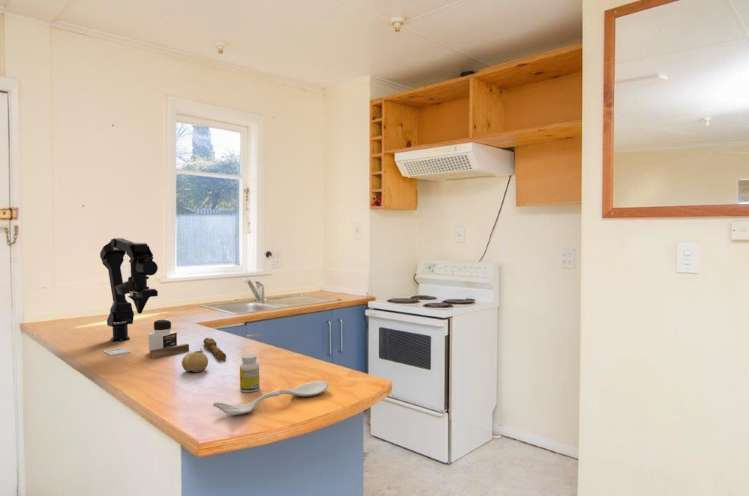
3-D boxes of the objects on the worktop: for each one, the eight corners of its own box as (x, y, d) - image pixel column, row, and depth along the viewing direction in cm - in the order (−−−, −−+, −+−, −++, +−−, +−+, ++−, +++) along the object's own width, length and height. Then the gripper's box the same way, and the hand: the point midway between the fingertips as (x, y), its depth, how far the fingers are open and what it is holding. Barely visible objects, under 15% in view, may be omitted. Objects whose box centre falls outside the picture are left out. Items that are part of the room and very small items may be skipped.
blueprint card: (102, 350, 190) (102, 350, 190) (122, 347, 194) (122, 347, 194) (110, 355, 182) (110, 354, 182) (130, 352, 187) (130, 351, 187)
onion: (192, 376, 156) (192, 353, 156) (176, 372, 161) (176, 350, 160) (213, 369, 163) (212, 348, 163) (197, 366, 167) (196, 345, 167)
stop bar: (150, 357, 180) (150, 350, 179) (186, 349, 190) (185, 343, 190) (153, 358, 178) (152, 351, 178) (189, 350, 189) (188, 344, 189)
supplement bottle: (242, 387, 145) (241, 353, 144) (260, 386, 145) (260, 353, 145) (238, 393, 139) (238, 358, 139) (258, 392, 140) (257, 358, 139)
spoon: (212, 415, 124) (212, 401, 124) (315, 386, 146) (315, 374, 146) (229, 425, 117) (229, 410, 117) (335, 393, 139) (334, 381, 139)
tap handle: (217, 353, 174) (202, 337, 200) (217, 362, 174) (202, 344, 200) (226, 352, 175) (210, 336, 201) (226, 361, 175) (210, 344, 201)
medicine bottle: (163, 354, 184) (162, 322, 183) (148, 353, 186) (147, 321, 186) (177, 350, 190) (176, 319, 190) (162, 348, 193) (162, 318, 192)
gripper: (107, 274, 196) (108, 313, 197) (129, 277, 184) (130, 318, 185) (135, 272, 205) (136, 310, 205) (158, 274, 193) (158, 314, 194)
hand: (139, 313), depth 197 cm, fingers closed
